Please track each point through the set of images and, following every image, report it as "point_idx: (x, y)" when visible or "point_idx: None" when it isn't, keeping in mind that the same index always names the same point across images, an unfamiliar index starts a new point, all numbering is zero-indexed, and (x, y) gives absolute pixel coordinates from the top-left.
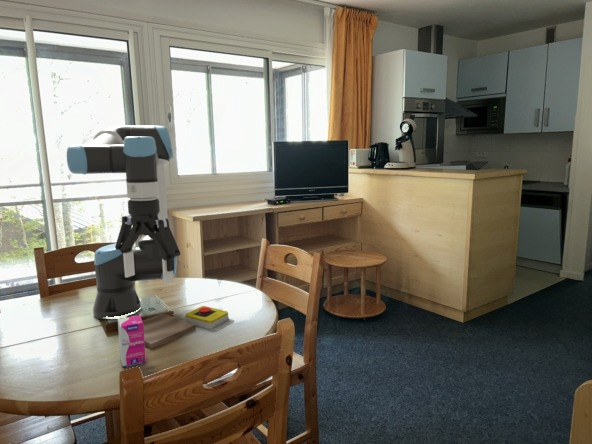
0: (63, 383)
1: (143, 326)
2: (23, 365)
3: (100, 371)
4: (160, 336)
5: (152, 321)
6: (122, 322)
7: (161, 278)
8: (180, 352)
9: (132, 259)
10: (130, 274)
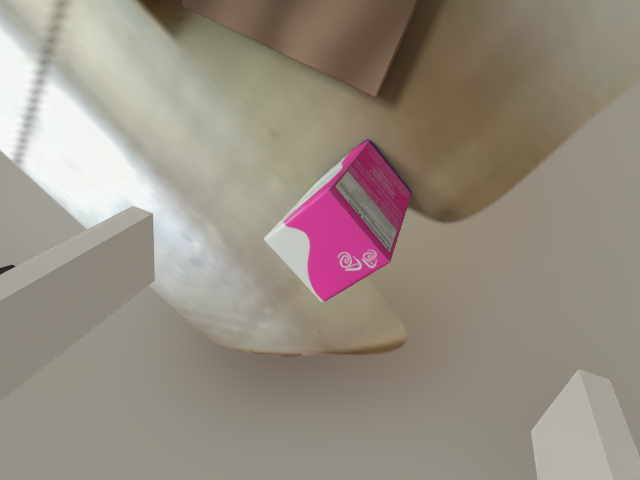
0: (270, 300)
1: (392, 253)
2: None
3: None
4: (377, 17)
5: None
6: (304, 270)
7: None
8: (511, 95)
9: (26, 304)
10: (143, 259)
